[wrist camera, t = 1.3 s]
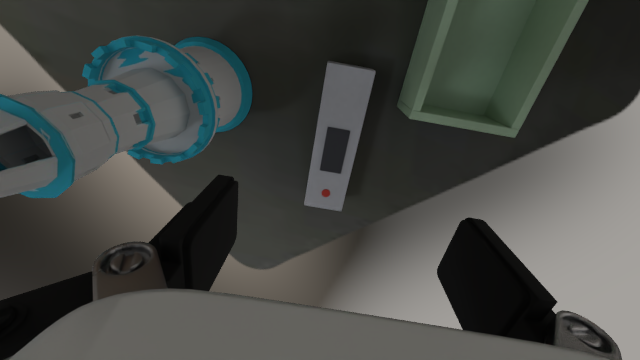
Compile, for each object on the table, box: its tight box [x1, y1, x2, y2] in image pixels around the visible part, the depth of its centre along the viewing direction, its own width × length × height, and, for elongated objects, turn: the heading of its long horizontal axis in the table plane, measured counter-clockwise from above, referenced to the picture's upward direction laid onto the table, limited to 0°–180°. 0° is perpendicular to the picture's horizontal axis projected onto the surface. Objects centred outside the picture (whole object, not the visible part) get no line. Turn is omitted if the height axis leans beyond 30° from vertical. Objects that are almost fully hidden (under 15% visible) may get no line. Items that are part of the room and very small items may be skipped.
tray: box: [397, 0, 589, 138], centre depth 22 cm, size 21×10×6 cm, turn 171°
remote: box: [304, 61, 376, 211], centre depth 29 cm, size 16×5×3 cm, turn 171°
